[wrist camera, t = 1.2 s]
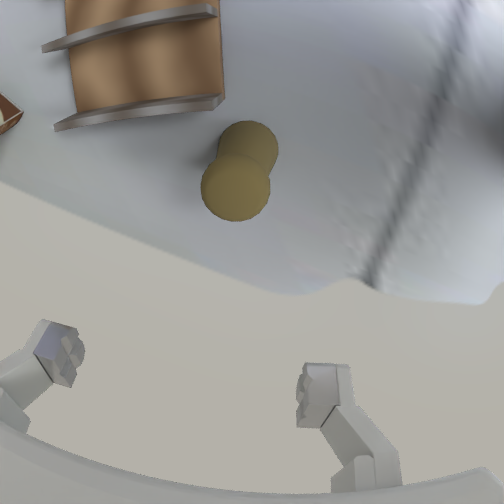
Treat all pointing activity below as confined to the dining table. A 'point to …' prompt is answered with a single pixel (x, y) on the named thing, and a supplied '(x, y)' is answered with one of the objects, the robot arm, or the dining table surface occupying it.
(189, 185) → the dining table surface
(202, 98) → the slot rack
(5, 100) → the food container
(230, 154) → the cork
